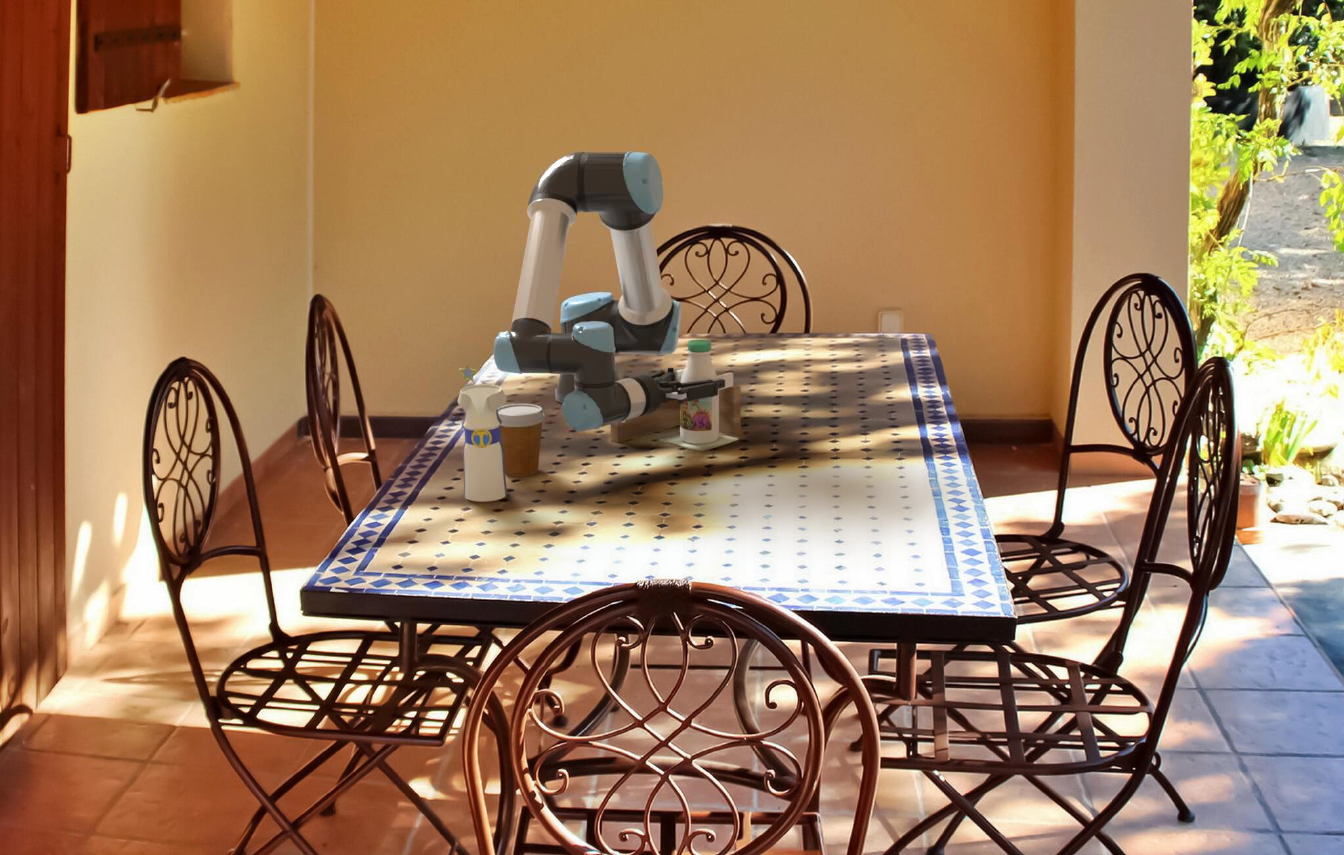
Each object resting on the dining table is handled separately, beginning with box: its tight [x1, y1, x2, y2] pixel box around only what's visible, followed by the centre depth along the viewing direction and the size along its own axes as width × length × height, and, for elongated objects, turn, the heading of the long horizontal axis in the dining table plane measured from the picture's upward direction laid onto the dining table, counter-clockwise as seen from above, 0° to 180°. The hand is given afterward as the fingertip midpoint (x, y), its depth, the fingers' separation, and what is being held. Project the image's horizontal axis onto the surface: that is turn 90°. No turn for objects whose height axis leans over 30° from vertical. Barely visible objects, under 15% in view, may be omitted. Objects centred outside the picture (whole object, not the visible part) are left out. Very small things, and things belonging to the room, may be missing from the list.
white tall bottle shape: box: [457, 362, 508, 502], centre depth 253 cm, size 8×9×25 cm
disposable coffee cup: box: [498, 403, 545, 477], centre depth 267 cm, size 10×10×12 cm
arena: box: [609, 384, 742, 453], centre depth 287 cm, size 18×21×10 cm
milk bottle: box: [679, 339, 720, 444], centre depth 284 cm, size 8×8×20 cm
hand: (715, 375), depth 287 cm, fingers open, 8 cm apart
